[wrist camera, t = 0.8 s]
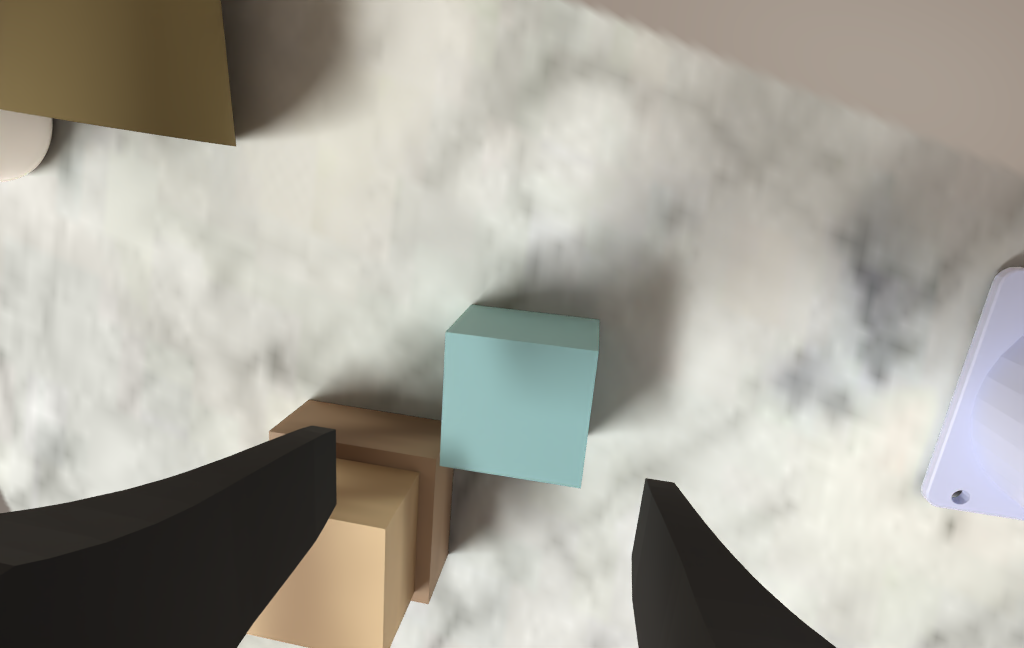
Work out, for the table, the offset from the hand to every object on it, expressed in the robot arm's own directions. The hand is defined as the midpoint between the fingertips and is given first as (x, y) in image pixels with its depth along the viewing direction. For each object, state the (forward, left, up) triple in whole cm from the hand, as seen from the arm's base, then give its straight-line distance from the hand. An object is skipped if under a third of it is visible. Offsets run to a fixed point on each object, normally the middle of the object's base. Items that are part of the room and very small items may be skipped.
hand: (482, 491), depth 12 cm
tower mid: (+5, +5, -5) cm, 9 cm away
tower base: (+5, +5, -8) cm, 11 cm away
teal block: (0, 0, -8) cm, 8 cm away
